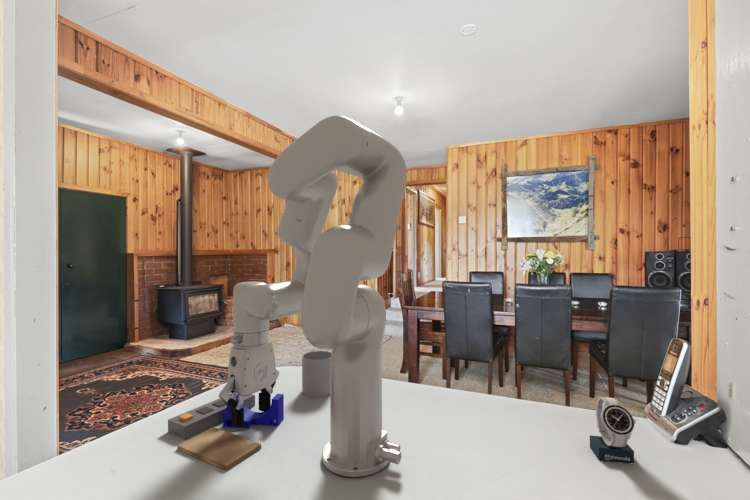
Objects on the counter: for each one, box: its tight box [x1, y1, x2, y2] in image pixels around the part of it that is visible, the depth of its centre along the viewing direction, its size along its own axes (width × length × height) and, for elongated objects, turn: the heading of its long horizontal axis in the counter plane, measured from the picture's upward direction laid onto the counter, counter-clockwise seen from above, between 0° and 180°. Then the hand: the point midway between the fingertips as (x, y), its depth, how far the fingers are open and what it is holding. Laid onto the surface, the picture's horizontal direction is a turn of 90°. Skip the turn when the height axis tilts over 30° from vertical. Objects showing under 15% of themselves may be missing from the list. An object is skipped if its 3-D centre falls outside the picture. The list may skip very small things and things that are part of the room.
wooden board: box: [176, 426, 262, 471], centre depth 69 cm, size 14×8×1 cm, turn 61°
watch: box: [589, 396, 637, 464], centre depth 65 cm, size 6×8×11 cm
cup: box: [301, 350, 332, 398], centre depth 96 cm, size 8×8×10 cm
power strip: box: [167, 393, 256, 441], centre depth 82 cm, size 18×6×4 cm, turn 150°
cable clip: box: [222, 393, 285, 429], centre depth 79 cm, size 12×4×6 cm, turn 83°
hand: (251, 417), depth 79 cm, fingers open, 7 cm apart
